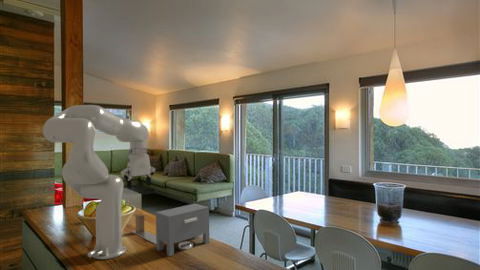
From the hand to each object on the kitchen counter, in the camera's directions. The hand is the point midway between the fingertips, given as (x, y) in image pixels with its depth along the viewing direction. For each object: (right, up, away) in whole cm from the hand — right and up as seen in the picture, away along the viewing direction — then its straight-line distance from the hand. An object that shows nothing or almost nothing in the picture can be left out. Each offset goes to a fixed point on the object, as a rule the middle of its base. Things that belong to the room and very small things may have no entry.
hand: (139, 187), depth 145 cm
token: (+26, -22, -19) cm, 39 cm away
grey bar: (+6, -22, -5) cm, 24 cm away
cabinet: (+25, -22, -18) cm, 38 cm away
